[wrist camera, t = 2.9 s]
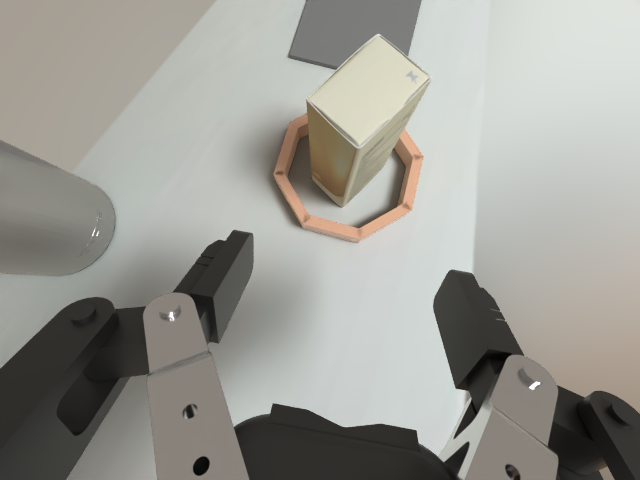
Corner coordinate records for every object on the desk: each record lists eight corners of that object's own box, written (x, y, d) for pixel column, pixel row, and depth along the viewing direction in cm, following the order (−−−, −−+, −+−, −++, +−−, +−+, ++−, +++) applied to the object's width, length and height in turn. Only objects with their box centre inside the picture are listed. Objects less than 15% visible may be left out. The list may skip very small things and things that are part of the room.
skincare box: (353, 138, 28) (381, 25, 16) (384, 167, 28) (438, 73, 16) (307, 181, 27) (301, 96, 15) (339, 211, 27) (359, 148, 15)
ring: (265, 218, 27) (261, 212, 25) (301, 101, 29) (300, 87, 27) (396, 253, 26) (402, 250, 24) (423, 132, 28) (431, 120, 26)
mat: (289, 57, 30) (289, 54, 29) (323, -46, 32) (323, -50, 32) (400, 85, 29) (401, 82, 29) (426, -21, 32) (427, -25, 31)
